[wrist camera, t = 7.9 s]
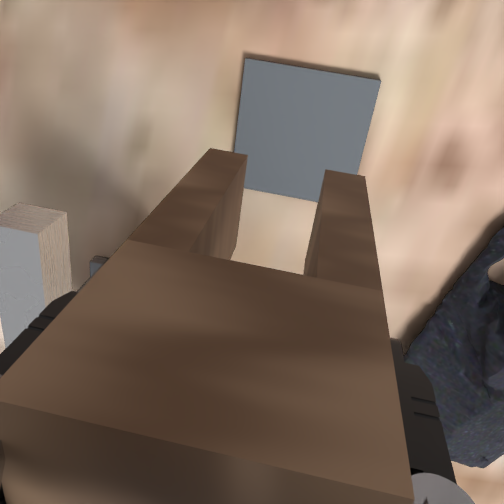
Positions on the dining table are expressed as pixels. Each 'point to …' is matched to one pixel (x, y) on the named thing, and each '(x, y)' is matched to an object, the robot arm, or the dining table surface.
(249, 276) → the slotted wooden collar
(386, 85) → the dining table surface
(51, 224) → the vise stand
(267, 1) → the dining table surface
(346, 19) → the dining table surface
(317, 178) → the felt pad
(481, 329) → the dark slate chunk
